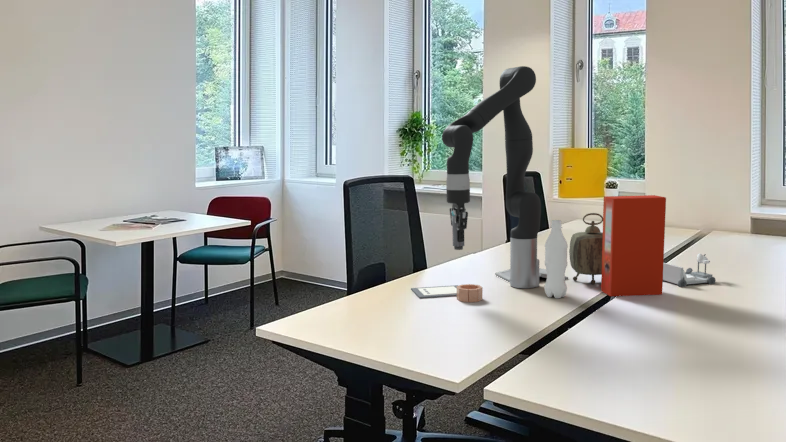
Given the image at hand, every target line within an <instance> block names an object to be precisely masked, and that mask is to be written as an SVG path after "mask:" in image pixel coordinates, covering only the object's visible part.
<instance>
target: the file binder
mask: <svg viewBox="0 0 786 442" xmlns="http://www.w3.org/2000/svg"><path fill="white" fill-rule="evenodd" d="M602 205H603V208H602V209H603V213H602V217H603V221H602V233H603V241H602V275H601V277H600V279H601V283H600V284H601V285H600V286H601V287H600V291H601V292H602V293H603V294H606V295H607V296H609V297H612V298H613V297H632V296H633V297H634V296H638V297H639V296H662V295H663V281H664V280H663V263H664V261H665V260H664V255H665V237H666V236H665V233H666V231H665V230H666V208H667V207H666V206H667V197H665V196H661V195H660V196H659V195H655V194H654V195H652V194H651V195H647V194H646V195H616V196H615V195H612V196H603V204H602Z"/></svg>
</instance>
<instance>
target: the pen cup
mask: <svg viewBox="0 0 786 442" xmlns="http://www.w3.org/2000/svg"><path fill="white" fill-rule="evenodd" d="M456 300H458V301H459V302H464V303H477V302H480V301H482V300H483V287H482V286H481V285H480V284H471V283H467V284H458V286H457V296H456Z"/></svg>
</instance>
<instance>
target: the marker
mask: <svg viewBox="0 0 786 442" xmlns="http://www.w3.org/2000/svg"><path fill="white" fill-rule="evenodd" d="M457 220H458V221H459V219H457ZM461 225H462V223H461ZM451 229H452V246H453V249H454V250H455V251H462V250H464V247H465V241H464V242H458V241H457V225H456V223H455V218H454V214H453V211H452V226H451Z"/></svg>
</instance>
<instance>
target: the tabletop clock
mask: <svg viewBox="0 0 786 442" xmlns="http://www.w3.org/2000/svg"><path fill="white" fill-rule="evenodd" d="M588 216H598V217H600V218H601V220H600V221H598V222H595V221H594V220H591V222H587V221H585V219H586V218H587V217H588ZM582 221H583V223H584V224H585V225H589V226H587V227H586V228H585V230H584V231H581V232H576V233H573V234H572V236H571V238H570V242H569V251H568V253H569V254H568V255H569V264H570V266H571V268H572V270H573V271H574V272H575V273H576V275H575V276H573V277H572V280H573V281H574V282H577V281H578V277H579V275H589V276H591V280H590V284H592V285H596V279H595V276H602V241H603V231H602V232H601V230H600V228H599V226H598V225H601V224H603V215H601V214H600V213H597V212H590V213H586V214H585V215H583V218H582Z"/></svg>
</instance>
